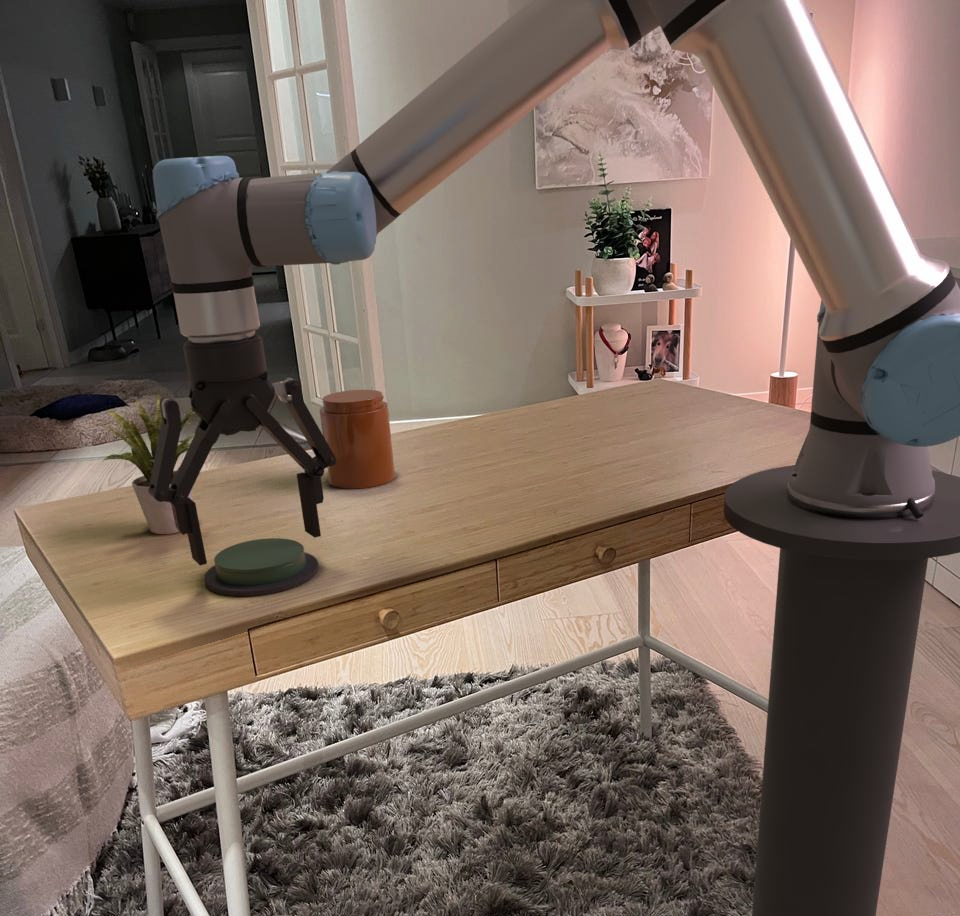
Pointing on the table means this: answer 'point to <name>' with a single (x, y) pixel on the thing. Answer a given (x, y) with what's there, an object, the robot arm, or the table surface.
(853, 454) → the robot arm
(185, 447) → the house plant
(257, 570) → the jar lid
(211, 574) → the coaster
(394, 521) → the table surface
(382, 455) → the jar
